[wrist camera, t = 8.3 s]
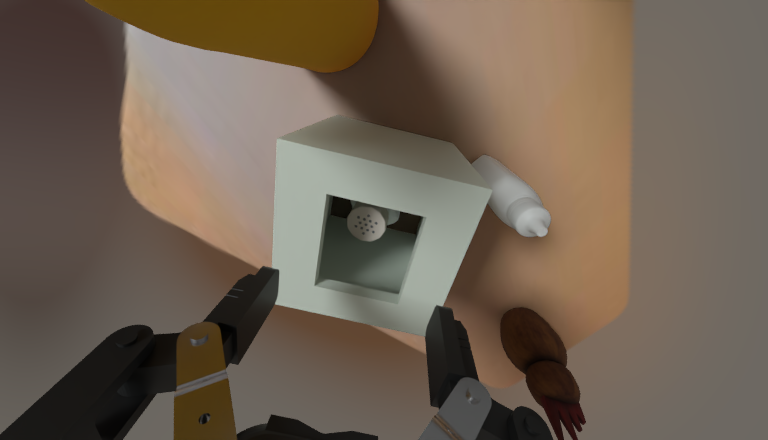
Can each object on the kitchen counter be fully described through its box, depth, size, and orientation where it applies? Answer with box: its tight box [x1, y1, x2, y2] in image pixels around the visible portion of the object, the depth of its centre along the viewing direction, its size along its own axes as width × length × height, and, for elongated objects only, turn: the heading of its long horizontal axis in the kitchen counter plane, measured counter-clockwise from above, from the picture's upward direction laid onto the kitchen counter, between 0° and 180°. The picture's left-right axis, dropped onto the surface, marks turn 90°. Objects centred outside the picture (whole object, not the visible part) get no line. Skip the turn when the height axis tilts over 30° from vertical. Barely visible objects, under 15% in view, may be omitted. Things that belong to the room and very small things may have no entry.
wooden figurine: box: [500, 308, 586, 440], centre depth 30 cm, size 7×6×15 cm
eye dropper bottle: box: [471, 155, 551, 237], centre depth 23 cm, size 4×6×12 cm
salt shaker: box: [347, 200, 400, 241], centre depth 25 cm, size 4×4×10 cm
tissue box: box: [272, 115, 493, 337], centre depth 24 cm, size 12×12×14 cm
